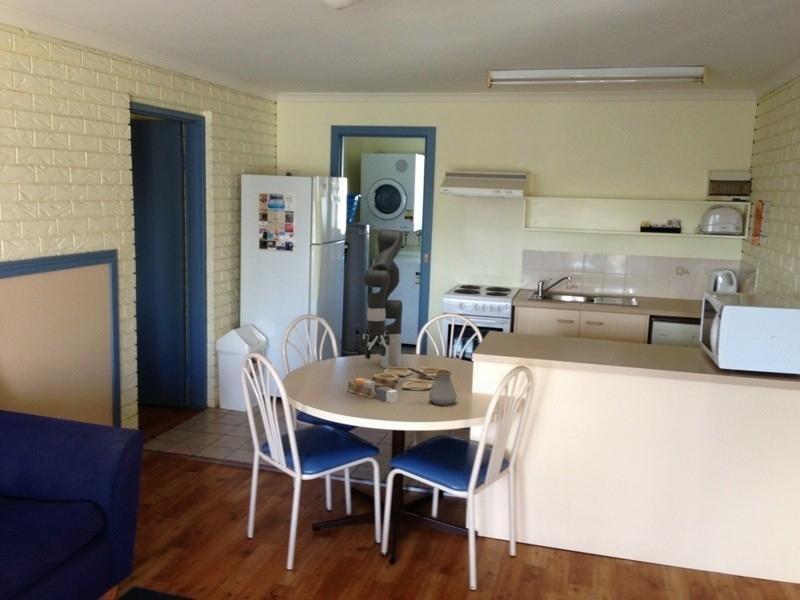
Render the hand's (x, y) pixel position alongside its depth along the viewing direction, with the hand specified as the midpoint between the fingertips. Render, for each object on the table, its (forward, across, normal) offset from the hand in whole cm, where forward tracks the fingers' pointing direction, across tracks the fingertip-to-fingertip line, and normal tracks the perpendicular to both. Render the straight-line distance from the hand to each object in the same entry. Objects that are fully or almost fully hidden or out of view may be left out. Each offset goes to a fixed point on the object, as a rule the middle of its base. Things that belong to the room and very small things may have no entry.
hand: (375, 357), depth 286 cm
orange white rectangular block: (+16, -1, -8) cm, 18 cm away
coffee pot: (+17, -12, +20) cm, 29 cm away
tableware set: (+17, -31, -10) cm, 37 cm away
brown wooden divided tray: (+17, -6, -7) cm, 19 cm away
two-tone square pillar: (+17, -1, +6) cm, 18 cm away
